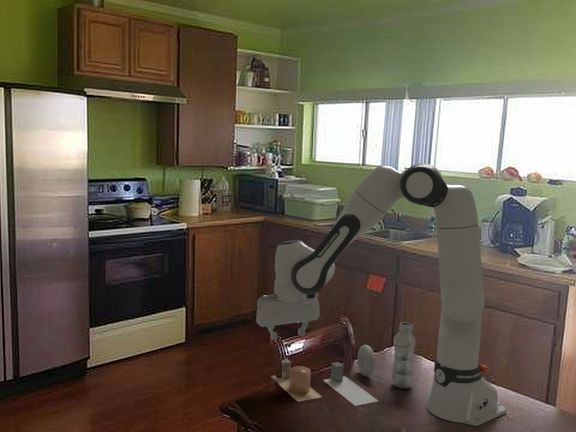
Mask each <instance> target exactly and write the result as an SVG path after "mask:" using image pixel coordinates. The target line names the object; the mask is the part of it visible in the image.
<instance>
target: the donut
mask: <svg viewBox="0 0 576 432" xmlns="http://www.w3.org/2000/svg"><path fill="white" fill-rule="evenodd" d="M375 362H376V359H375V354H374V350H373V349H372V347H371V346H370V345H368V344H364V345H362V346H360V348H359V349H358V353H357V366H358V370H359V373H360V374H361V376H363V377H365V378H368V377H371V376H372V375H373V374H374V371H375V366H376V365H375V364H376V363H375Z"/></svg>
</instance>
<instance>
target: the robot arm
mask: <svg viewBox="0 0 576 432" xmlns="http://www.w3.org/2000/svg"><path fill="white" fill-rule="evenodd" d="M404 198H405V199H406V201H408V202H409V203H411V204H415V205H418V206H423V207H429V208H432V209H433V211H434V216H435V225H436V228H435V229H436V236H437V237H436V238H437V250H438V269H439V271H438V272H439V287H440V289H439V290H440V303H441V310H440V320H439V327H438V329H439V330H438V340H437V351H436V358H435V359H434V367H433V372H434V374H433V380H432V383H431V389H430V393H429V394H428V400H427V403H426V408H427V410H428V411H429V412H430V413H431V414H432V415H434V416H436V417H438V418H440V419H443V420H446V421H450V422H454V423H461V424H466V425H470V426H475V427H478V426H480V425H483V424H485V423H487V422H489V421H491V420H493V419H496V418H497V417H500V416H502V415H504V414H505V413H507V411H506V408H505V406H504V405H503V404H502V402H499V400H498V398H499V397H498V392H497V389H496V388H495V386H493V385H492V384H491V383H490V382H489V381H487V379H485V378H484V377H483V376H482V373H484V374H488V373H489V372H490V371H489V370H490V368H489V366H487V365H485V364H479V355H480V345H481V335H482V317H483V310H484V308H485V303H486V302H485V301H486V300H485V290H484V289H485V288H484V276H483V265H482V263H483V262H482V251H481V249H482V248H481V238H480V228H479V227H480V226H479V216H478V210H477V206H476V201H475V198H474V195H473V192H472V191H471V189H470V188H469V187H467V186H465V185H461V184H447V183H446V181H445V180H444V178H443V175H442V173H441V171H439V169H438V168H437V167H436V166H434V165H431V164H430V163H425V162H424V163H422V162H421V163H416V164H413V165H412V166H409V167H408V168H407V169H405V170H403V171H399V170H397V169H396V168H394V167H393V166H390V165H387V164H385V165H384V164H382V165H378V166H376V167H375V168H374V169H373V170H372V171H370V172H369V174H367V175H366V177H364V179H363V180H362V181H361V182H360V183H359V184H358V185H357V187H356V188H355V189H354V190H353V192H352V193H351V195H350V197H349V198H348V200H347V201H346V203H345V205H344V207H343V209H342V210H341V212H340V214H339V216H338V217H337V220H336V221H335V223H334V224H333V227H332V228H331V229H330V230H329V232H328V234H326V235H325V237H324V238H323V239H322V241H321V242H320V243H319V244H318V246H317V247H316V248H315V249H314V248H313V247H310V246H309V245H307V244H306V243H304V242H303V241H302V240H300V239H290V240H286V241H282V242H280V243H279V244H278V245H277V248H276V251H275V257H274V258H275V259H274V260H275V261H274V271H275V280H274V288H273V289H274V292H273V293H274V294H267V295H264V294H263V295H261V297H259V298H258V299H257V301H256V308H257V310H256V315H255V316H256V317H255V318H256V319H255V321H256V323H257V325H259V326H260V327H261V328H265V327H266V328H267V329H268V332H269V333H270V339H271V340H277V339H278V333H277V332H276V331H274V329H275V327H276V326H281V325H288V324H296V323H301V324H302V325H301V326H300V328H298V330H297V334H298V335H299V336H305V334H306V330H307V328H308V326H309V322H311V321H317V320H319V318H320V313H321V312H320V302H319V301H320V300H318V297H319V292H320V291H321V290H322V289H323V288H324V287H325V285H327V283H328V282H330V280H331V279H333V277H334V276H335V273H336V268H337V267H336V261H337V260H338V258H339V257H340V256H341V255H342V253H343V252H344V251H345V250H346V249H347V247H348V246H349V245H350V244H351V243H352V242H354V241H355V240H357V239H358V238H359V237H360V236H362V235H364V234H365V233H367V232H368V231H370V230H371V229H373V227H375V226H376V225H377V224H378V223H379V222H380V221H381V220H382V219H383V218H384V217H385V215H386V214H387V213H388V211H389V210H390V209H391V208H392V206H394V204H395V203H396V202H397V201H398V200H400V199H404Z"/></svg>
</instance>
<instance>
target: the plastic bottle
mask: <svg viewBox="0 0 576 432" xmlns="http://www.w3.org/2000/svg"><path fill="white" fill-rule="evenodd" d="M398 330H399V331H398V332H397V333H396V334H395V336H394V337H393V350H394V357H393V358H394V361H393V368H392V371H391V377H390V380H391V384H392V385H393V386H394V387H395V388H397V389H402V390H403V389H404V390H406V389H410V388H411V387H412V385H413V383H414V374H413V358H414V353H415V352H414V351H415V348H416V338H415V337H414V334H413V333H412V332H413V324H412V323H410V322H406V321H405V322H404V321H403V322H400V323H399V327H398Z"/></svg>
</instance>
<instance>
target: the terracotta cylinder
mask: <svg viewBox="0 0 576 432" xmlns="http://www.w3.org/2000/svg"><path fill="white" fill-rule="evenodd" d="M311 373H312V371H311V369H310V368H309V367H306V366H302V365H296V366H291V369H290V382H289V390H290V392H292V393H294V394H306V393H308V392H309V391H310V387H311Z"/></svg>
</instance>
